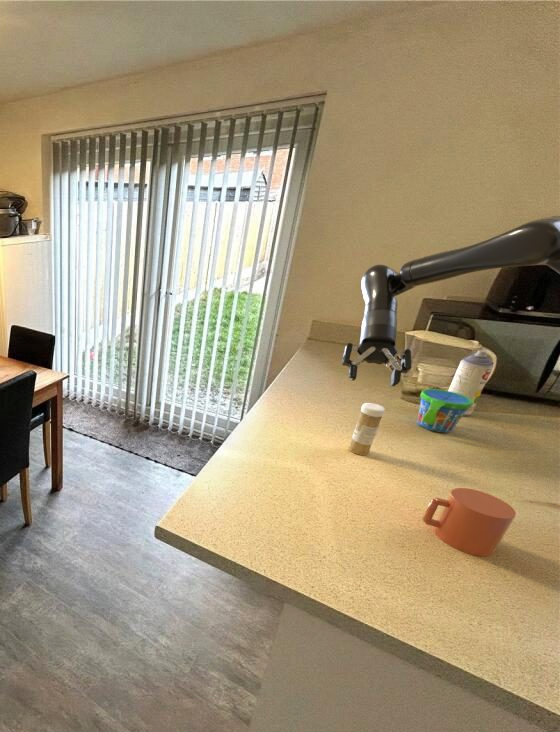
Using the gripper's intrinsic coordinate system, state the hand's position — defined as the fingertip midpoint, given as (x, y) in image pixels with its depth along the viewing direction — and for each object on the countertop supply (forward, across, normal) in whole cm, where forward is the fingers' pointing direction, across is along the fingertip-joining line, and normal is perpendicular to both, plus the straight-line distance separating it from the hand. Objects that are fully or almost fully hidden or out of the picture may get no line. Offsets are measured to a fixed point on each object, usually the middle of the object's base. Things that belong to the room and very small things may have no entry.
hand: (373, 382), depth 103 cm
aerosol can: (-11, +30, +36) cm, 48 cm away
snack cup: (0, +21, +24) cm, 32 cm away
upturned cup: (+37, +12, -13) cm, 41 cm away
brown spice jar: (+18, 0, +7) cm, 19 cm away
